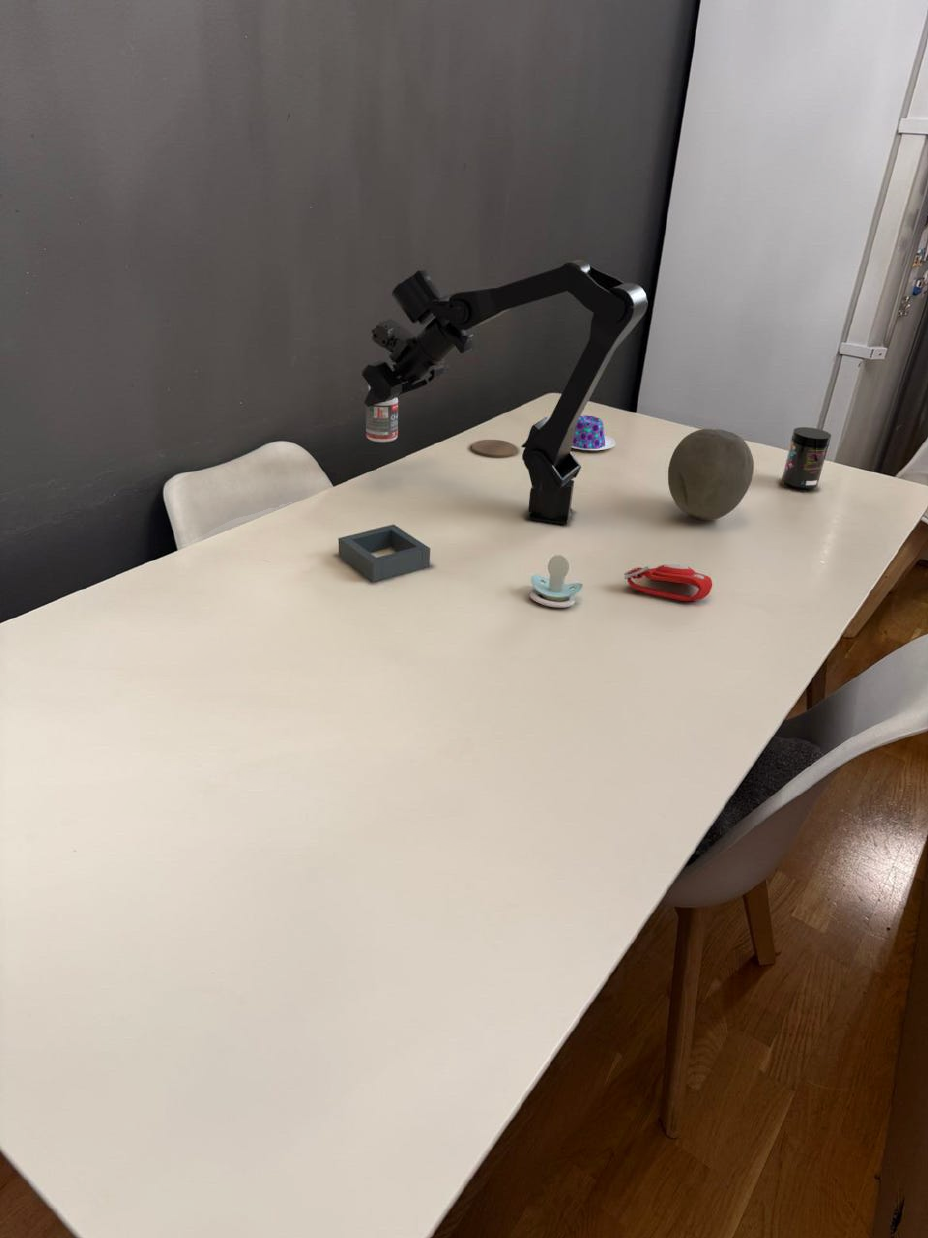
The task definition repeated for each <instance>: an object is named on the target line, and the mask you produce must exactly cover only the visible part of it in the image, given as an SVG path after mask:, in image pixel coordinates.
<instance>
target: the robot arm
mask: <svg viewBox="0 0 928 1238" xmlns="http://www.w3.org/2000/svg"><path fill="white" fill-rule="evenodd" d="M566 292H567V293H569V294H570V295H572V296H573V297H574V298H575V299H576V300H577V301H578V302H579V303H580V304H581V305H582V306H583V307H584V308H586V309H587V310H589V311H590V312H591V313H593V314H592V316H591V320H590V326H589V335H588V340H587V343H586V345H585V346H584V349H583V350H582V353H581V355H580V357H579V359H578V361H577V363H576V364H575V367H574V368H573V370H572V372H571V375H570V377H569V379H568V381H567V382H566V385H565V386H564V388H563V391H562V393H561V395H560V397H559V399H558V401H557V403H556V405H555V407H554V408H553V411H552V412H551V415H550V417H548V416H545V417H544V418H543V419H541V420H539V421H538V422H536V423H534V424H533V425H532V426H531V427H530V429H529V431H528V432H529V433H528V436H527V439H526V440H525V441H524V443H522V444H521V445H520V447H521V448H523V451H522V455H521V460H522V461H523V464H524V466H525V468H526V469H527V471H528V475H529V480H530V483H531V487H530V489H529V497H528V498H529V499H528V508H527V511H528V513H529V514H528V519H529V520H531V521H538V522H545V523H551V524H557V525H563V526H565V525H568V524H569V521H570V518H571V516H572V513H573V508H572V502H573V495H574V486H575V480H573V479H575V478H577V477H578V475H579V473H580V471H581V469H582V466H581V464H580V463H579V461H578V460H577V459H576V457H575V456H574V454H573V453H572V451H571V450H572V444H573V441H574V433H575V426H576V423H577V421H578V419H579V417H580V416H582V413H583V412H584V411H585V408H586V406H587V404H588V403H589V401H590V399H591V396H592V395H593V393H594V391H595V389H596V387H597V385H598V383H599V381H600V380H601V377H602V376H603V374H604V372H605V370H606V368H607V367H608V364H609V362H610V361H611V358H612V357H613V355H614V353H615V350H616V349H617V348H618V346H620V344H621V343H622V342H623V341H624V340H625V339H626V338H627V336H628V335H629V334H630V333H631V332H632V331H633V329H634V328H635V327H636V325H638V323H639V321H640V320H641V319H642V318H643V316H645V314H646V312H647V309H648V303H649V302H648V301H649V300H648V299H647V294H646V292H645V291H644V289H643V288H642V287H641V286H640V285H638V284H636V283H634V282H623V281H622V280H621V279H619V278H617V277H615V276H613V275H611V274H609V273H606V272H604V271H602V270H599V269H598V268H596V267H595V266H592V265H591V264H589V263H588V262H586V261H585V260H582V259H575V260H573V261H569V262H566V263H564V264H563V265H561V266H559V267H555V268H553V269H550V270H547V271H544V272H540V273H537V274H534V275H532V276H528V277H525V278H522V279H519V280H516V281H513V282H510V283H507V284H503V285H488V286H478V287H472V288H469V289H466V290H462V291H458V292H455V293H454V294H453V293H450V294H447V295H442V293H441V292H440V290H439V289H438V288H437V286H436V285H435V284H434V282H433V281H432V278H431V277H430V274H429V273H428V272H427V270H426V269H425V268H423V269H418V270H416V271H415V272H414V274H412V275H410V276H408V278H406V279H404V280H403V281H402V282H399V283H398V284H397V285H396V286H395V287H394V288H393V290H392V292H391V296H392V297H393V299H394V300H395V301H396V303H397V304H398V306H399V307H400V308H401V310H402V312H403V313H404V314H405V316H406V317H407V318H408V319H409V321H410V322H411V324H417V323H419V325H421V326H423V325H425V324H427V323H428V322H429V323H428V324H427V325H426V326H425V327H424V328H423V329H422V330H421V331H419V333H418V334H417V335H416V336H415V335H414V334H413V333H412V331H411V330H409V329H408V328H406V327H405V326H404V325H402V324H401V323H399V322H398V321H397V320H395V319H391V318H389V319H385V320H381V321H379V323H378V324H376V326H375V327H374V328H373V329H372V330H371V335H372V336H371V339H372V341H373V342H374V343H375V344H377V346H379V347H380V348H384V349H385V350H387V351H388V352H389V353H390V354H389V356H388V357H389V359H390V361H391V362H392V363H395V364H392V366H391V367H390V366H389V364H388V362H387V361H383V360H378V361H375V362H372V363H369V364H367V365H366V366H365V368H364V369H362V370H361V376H362V378H364V380H365V381H366V383H367V384H368V386H369V385H370V387H371V388H370V390H369V389H368V393H367V395H366V397H365V398H364V401H363V402H364V405H365V407H366V406H367V407H369V406H373V405H376V404H379V403H382V402H386V401H389V400H392V399H394V398H399V397H400V395H402V394H405V393H408V392H411V391H414V390H417V389H420V388H422V387H425V386H427V385H428V382H429V384H430V383H433V382H435V381H438V380H439V379H440V378H441V377H442V376H443V375H444V371H445V370H444V369H445V368H444V367H445V366H444V365H443V364H444V363H445V361H446V360H445V359H446V358H447V357H448V356H449V355H450V354H451V353H452V352H453V351H454V350H455V349H457V351H458V352H459V353H460V354H466V353H468V352H470V351H472V350H473V349H474V342H473V337H474V335H473V334H472V333H468V332H466V331H468V330H470V329H474V328H476V327H479V326H482V325H484V324H486V323H487V324H488V322H490V321H492V320H494V319H495V318H497V317H499V316H501V315H502V314H504V313H506V312H507V311H509V310H511V309H514V308H517V307H520V306H524V305H527V304H530V303H534V302H536V301H537V302H538V301H539V300H543V299H547V298H549V297H553V296H556V295H559V294H563V293H566Z"/></svg>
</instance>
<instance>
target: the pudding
mask: <svg viewBox="0 0 928 1238" xmlns="http://www.w3.org/2000/svg"><path fill="white" fill-rule="evenodd" d="M604 428H605V427H604V422H603V420H602V419H601V418H599V417H597V416H594V415H581V416H580V417H579V419H578V421H577V423H576V426H575V433H574V441H573V444H572V447H571V449H572V448H573V449H576V450H577V449H578V450H583V451H603V450H608V449H611V448H613V447H614V446H615V445H616V441H615V440H614V439H613V438H612V437H610V436H608V435H606V434H605V429H604Z"/></svg>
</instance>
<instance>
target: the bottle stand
mask: <svg viewBox="0 0 928 1238" xmlns="http://www.w3.org/2000/svg"><path fill="white" fill-rule="evenodd" d="M337 540H338V557H339V558H341V559H342V560H343V561H345V562H346V563H347V564H349V566H351V567H352V568H354V569H355V570H357V571H358V572H359V573H361V575H363V576H364V577H366V578H367V579H369V580H370V581H371V582H372V583H377V582H379V581H383V580H386V579H390V578H393V577H397V576H401V575H404V574H408V573H411V572H415V571H418V570H421V569H426V568H428V567H430V565H431V548H430V546H428V545H426V543H423V542H421V541H420V540H419V539H417V538H415V537H414V536H412V535H411V534H409V533H408V532H406V531H405V530H403V529H402V528H400V527H398V526H397V525H396V524H389V525H386V526H382V527H378V528H374V529H369V530H365V531H361V532H357V533H353V534H348V535H344V536H341V537H338V539H337ZM389 548H392V549H393V550H394V551H396V552H392V553H389V554H385V555H382V556H378V557H377V556H375V555H374V554H372V553H374V552H378V551H382V550H385V549H389Z"/></svg>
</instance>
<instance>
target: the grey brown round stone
mask: <svg viewBox="0 0 928 1238" xmlns="http://www.w3.org/2000/svg"><path fill="white" fill-rule="evenodd" d="M667 469H668V470H667V486H668V489H669V490H668V491H669V493H670V496H671V498H672V500H673V501H674V503H675V504H676V506H677V507H678V508H679V509H680V510H681V511H682V512H683V513H684V514H685V515H687V516H689V517H692V518H694V519H697V520H700V521H705V522H707V521H715V520H718V519H720V518H723V517H725V516H726V515H727V514H729V513H731V512H732V511H733V510H734V509H735V508H737V507H738V506H739V504H740V503H741V502H742V500H743V499H744V498H745V496H746V495H747V492H748V491H749V488H750V486H751V483H752V481H753V477H754V469H755V461H754V456H753V453H752V450H751V448H750V446H749V445H748V443H747V441H745V439H743V437H741V436H740V435H738V434H737V433H734V432H731V431H728V430H726V429H721V428H715V429H714V428H702V429H698V430H695V431H692V432H691V433H689V434H687V435H686V436H685V437H684V438H683V439H681V440H680V442H679V443H678V444H677V445H676V447H675V448H674V449H673V452H672V454H671V457H670V460H669V462H668V467H667Z"/></svg>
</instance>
